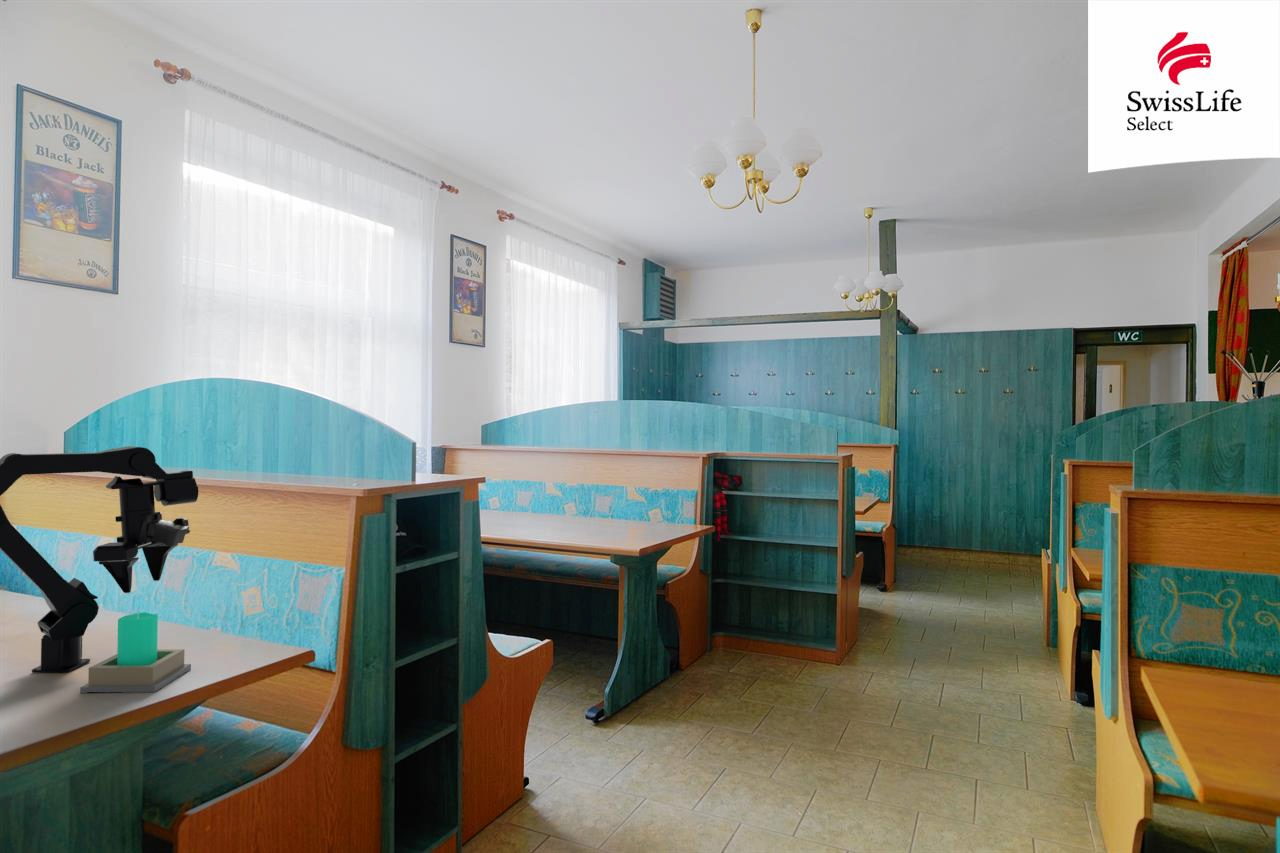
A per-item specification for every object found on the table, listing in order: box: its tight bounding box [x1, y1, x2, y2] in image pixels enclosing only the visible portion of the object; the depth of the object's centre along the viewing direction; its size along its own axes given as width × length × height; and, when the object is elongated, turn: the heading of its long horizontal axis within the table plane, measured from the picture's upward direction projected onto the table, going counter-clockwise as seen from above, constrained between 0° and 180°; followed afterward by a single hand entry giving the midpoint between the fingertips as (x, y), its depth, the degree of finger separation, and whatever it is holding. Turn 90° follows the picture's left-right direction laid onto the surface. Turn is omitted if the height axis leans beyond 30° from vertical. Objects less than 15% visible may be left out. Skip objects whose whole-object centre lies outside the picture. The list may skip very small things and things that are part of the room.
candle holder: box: [79, 648, 192, 694], centre depth 132 cm, size 12×12×4 cm
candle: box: [116, 607, 159, 666], centre depth 132 cm, size 6×6×12 cm
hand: (142, 586), depth 148 cm, fingers open, 9 cm apart
